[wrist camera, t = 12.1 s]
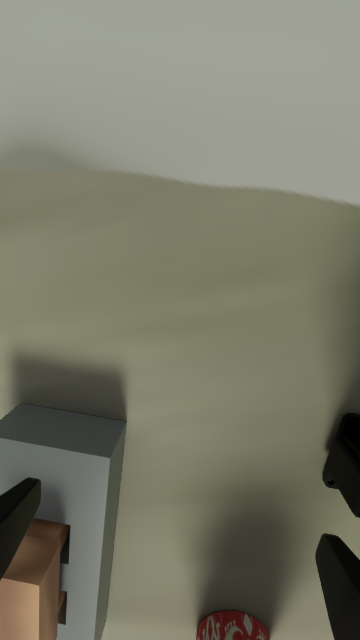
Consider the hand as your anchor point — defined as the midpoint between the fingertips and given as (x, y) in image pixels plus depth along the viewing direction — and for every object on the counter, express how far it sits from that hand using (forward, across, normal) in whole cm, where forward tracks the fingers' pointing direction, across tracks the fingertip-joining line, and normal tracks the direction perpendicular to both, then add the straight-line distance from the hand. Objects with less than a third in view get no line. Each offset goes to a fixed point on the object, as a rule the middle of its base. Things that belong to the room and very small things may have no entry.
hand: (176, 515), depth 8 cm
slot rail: (+12, +9, +18) cm, 23 cm away
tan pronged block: (+11, +9, +18) cm, 23 cm away
